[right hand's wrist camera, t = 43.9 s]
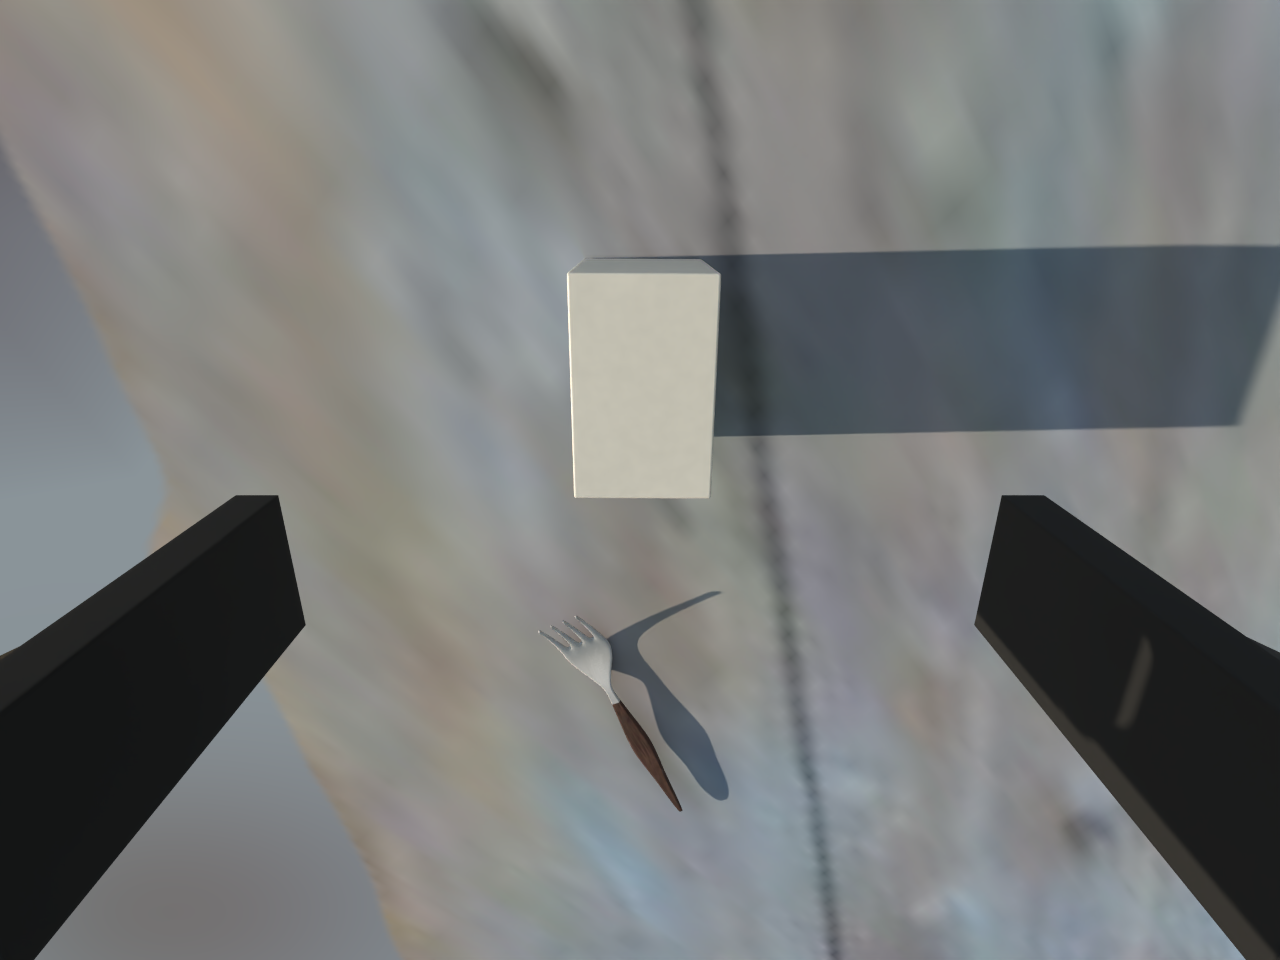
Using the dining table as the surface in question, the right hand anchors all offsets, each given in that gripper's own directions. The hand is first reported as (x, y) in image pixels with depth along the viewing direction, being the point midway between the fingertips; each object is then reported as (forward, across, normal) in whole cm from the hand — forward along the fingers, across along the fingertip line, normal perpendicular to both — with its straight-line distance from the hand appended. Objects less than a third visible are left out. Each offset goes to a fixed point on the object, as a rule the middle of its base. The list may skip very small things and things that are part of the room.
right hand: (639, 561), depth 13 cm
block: (+21, 0, 0) cm, 21 cm away
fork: (+21, -1, -21) cm, 30 cm away
